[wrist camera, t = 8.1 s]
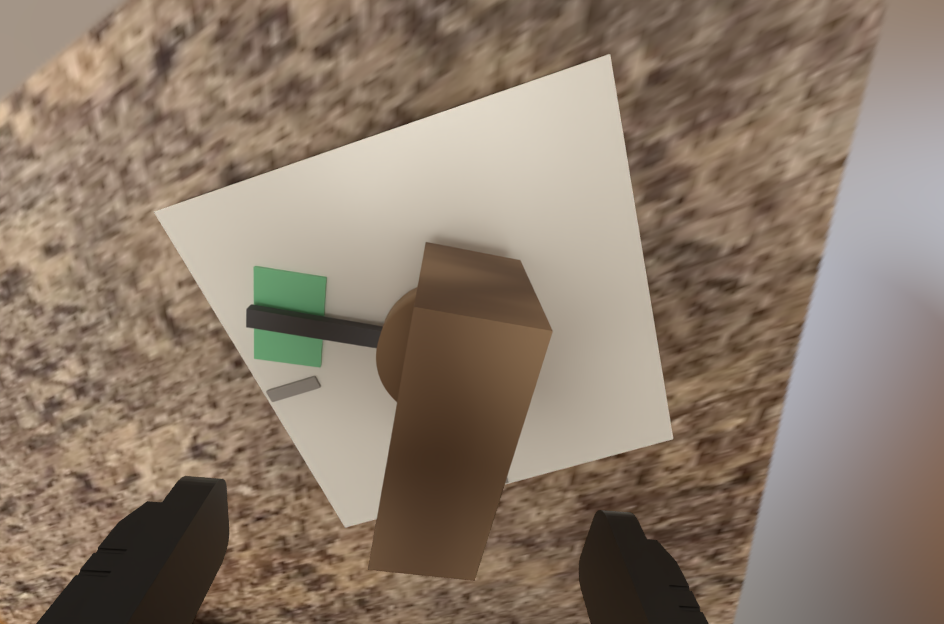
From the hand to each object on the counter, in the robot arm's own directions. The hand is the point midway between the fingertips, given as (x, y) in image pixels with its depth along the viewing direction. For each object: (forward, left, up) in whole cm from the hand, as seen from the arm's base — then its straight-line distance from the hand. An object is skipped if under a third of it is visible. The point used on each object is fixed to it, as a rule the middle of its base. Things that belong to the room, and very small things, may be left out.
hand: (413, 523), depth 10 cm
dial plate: (0, -1, -9) cm, 9 cm away
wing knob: (+1, +1, -8) cm, 8 cm away
